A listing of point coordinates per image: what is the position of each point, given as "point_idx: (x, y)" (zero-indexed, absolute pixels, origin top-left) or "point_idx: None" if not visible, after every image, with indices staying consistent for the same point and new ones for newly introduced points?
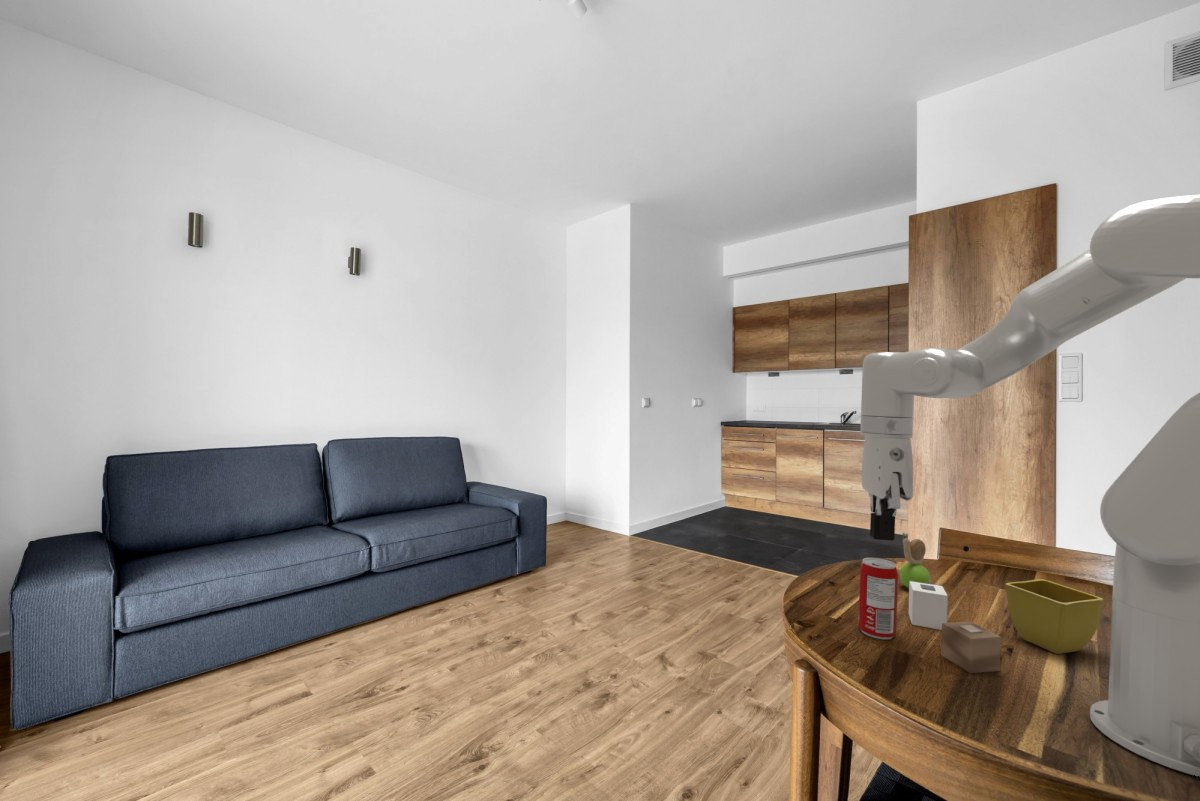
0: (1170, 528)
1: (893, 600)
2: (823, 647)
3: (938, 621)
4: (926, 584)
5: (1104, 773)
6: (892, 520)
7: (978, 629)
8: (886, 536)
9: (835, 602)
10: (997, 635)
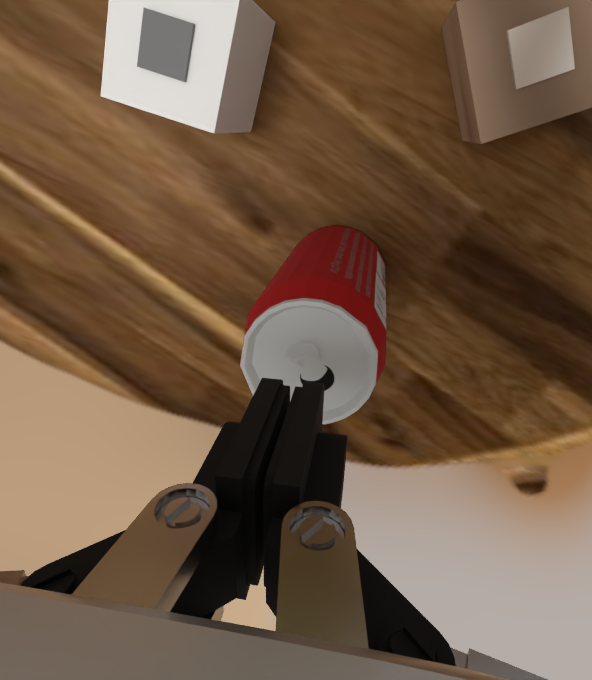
0: None
1: (377, 282)
2: (443, 432)
3: (262, 45)
4: (117, 28)
5: None
6: (306, 478)
7: (551, 17)
8: (319, 431)
9: (148, 309)
10: None
